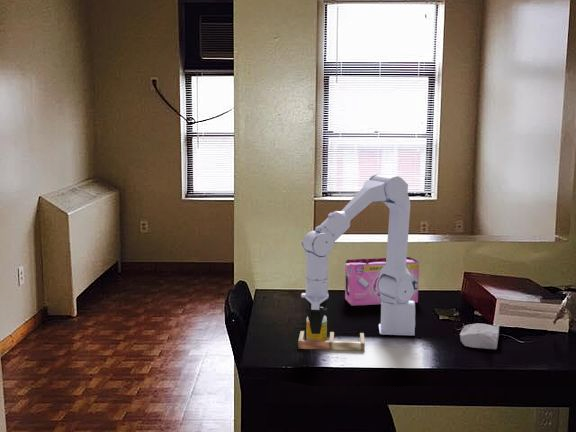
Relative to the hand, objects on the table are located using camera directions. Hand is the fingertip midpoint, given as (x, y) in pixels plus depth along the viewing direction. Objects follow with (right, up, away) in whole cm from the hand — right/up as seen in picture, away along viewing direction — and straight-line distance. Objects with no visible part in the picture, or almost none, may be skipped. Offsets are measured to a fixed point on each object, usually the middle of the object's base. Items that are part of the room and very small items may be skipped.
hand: (316, 328), depth 166 cm
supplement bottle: (0, -4, +2) cm, 5 cm away
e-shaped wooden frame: (+4, -4, +2) cm, 6 cm away
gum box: (+23, +1, +42) cm, 47 cm away
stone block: (+44, -5, +4) cm, 44 cm away
